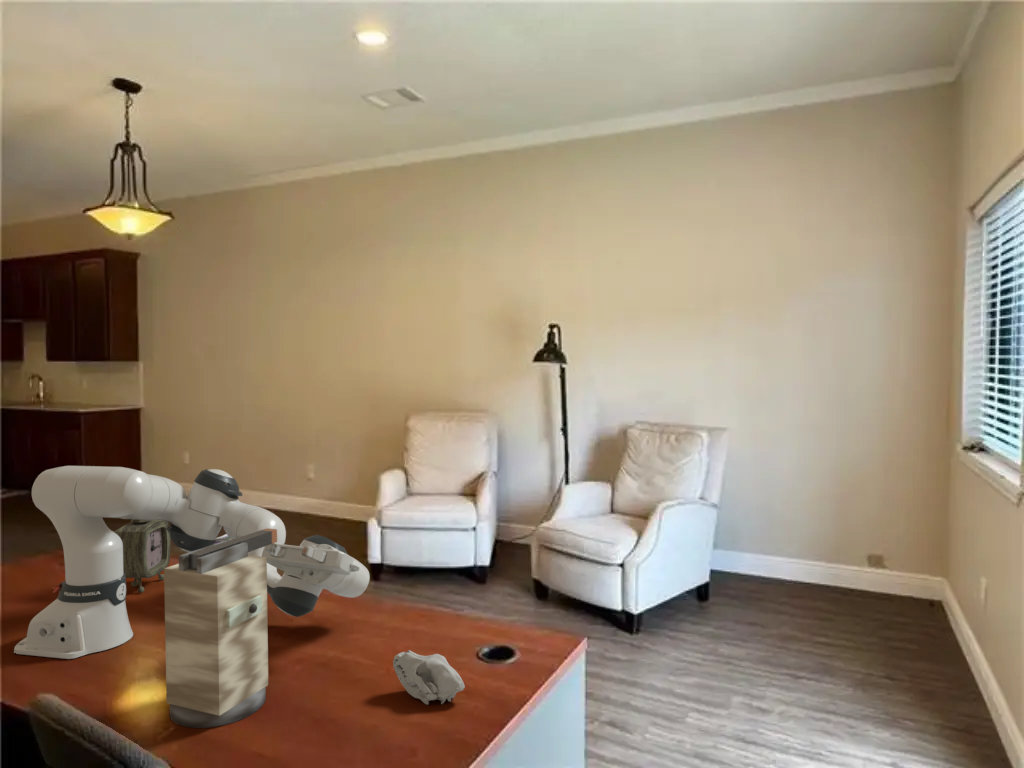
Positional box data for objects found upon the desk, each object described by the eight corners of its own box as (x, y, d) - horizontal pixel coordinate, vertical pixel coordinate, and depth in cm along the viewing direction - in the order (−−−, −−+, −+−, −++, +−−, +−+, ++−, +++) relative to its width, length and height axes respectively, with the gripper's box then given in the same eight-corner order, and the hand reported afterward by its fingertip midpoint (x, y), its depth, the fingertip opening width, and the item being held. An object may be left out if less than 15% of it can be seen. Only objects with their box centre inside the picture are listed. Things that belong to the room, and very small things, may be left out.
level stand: (219, 735, 115) (217, 565, 114) (148, 717, 121) (145, 555, 120) (284, 692, 130) (282, 541, 129) (218, 678, 136) (215, 533, 135)
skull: (455, 698, 122) (406, 641, 125) (424, 729, 125) (377, 673, 128) (476, 675, 130) (429, 621, 133) (447, 704, 133) (401, 651, 136)
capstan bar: (200, 569, 120) (199, 555, 120) (189, 568, 121) (188, 553, 121) (277, 541, 138) (276, 529, 138) (267, 540, 139) (266, 528, 139)
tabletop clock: (143, 595, 184) (141, 501, 183) (109, 595, 184) (107, 501, 183) (171, 578, 198) (169, 491, 197) (139, 578, 198) (138, 491, 197)
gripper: (359, 585, 148) (324, 569, 136) (281, 574, 155) (242, 558, 144) (367, 556, 150) (333, 537, 139) (290, 547, 158) (252, 528, 147)
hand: (286, 548), depth 141 cm, fingers open, 8 cm apart
